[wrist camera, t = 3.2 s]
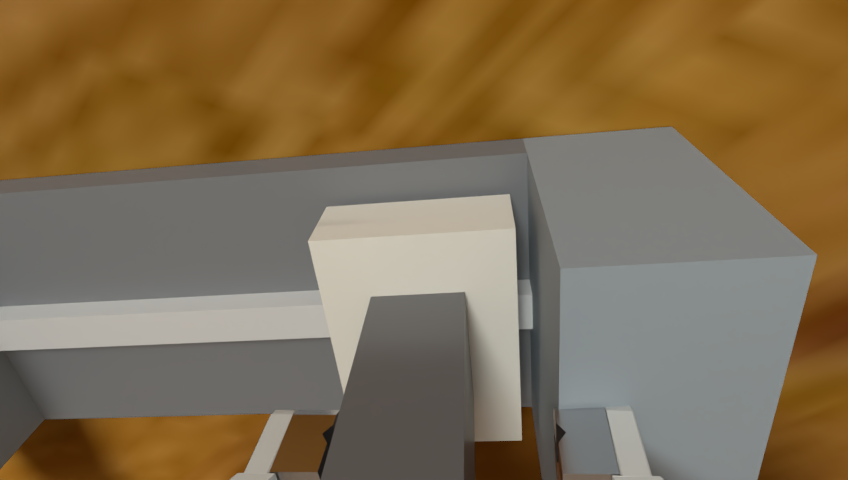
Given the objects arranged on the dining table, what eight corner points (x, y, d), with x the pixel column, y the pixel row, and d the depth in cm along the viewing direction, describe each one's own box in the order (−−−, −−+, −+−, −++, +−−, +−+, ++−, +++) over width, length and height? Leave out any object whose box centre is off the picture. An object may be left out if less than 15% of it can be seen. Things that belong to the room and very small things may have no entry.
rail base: (671, 126, 15) (817, 255, 9) (644, 378, 19) (729, 584, 13) (-163, 193, 18) (-499, 325, 12) (-27, 399, 22) (-219, 575, 16)
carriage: (509, 194, 14) (549, 429, 7) (516, 391, 18) (549, 684, 11) (326, 206, 15) (202, 436, 8) (366, 396, 18) (303, 676, 11)
